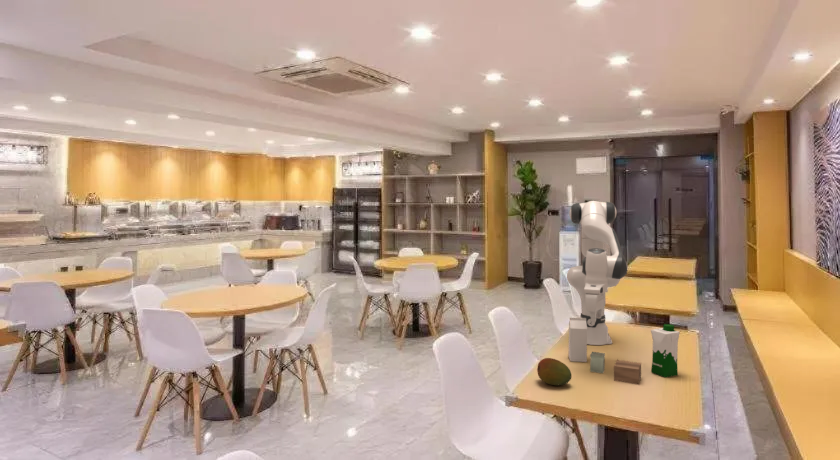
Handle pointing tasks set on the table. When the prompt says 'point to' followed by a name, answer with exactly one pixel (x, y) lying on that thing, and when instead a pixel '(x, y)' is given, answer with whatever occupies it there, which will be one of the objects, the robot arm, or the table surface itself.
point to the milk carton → (578, 339)
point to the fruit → (553, 372)
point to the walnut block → (627, 371)
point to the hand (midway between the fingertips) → (596, 320)
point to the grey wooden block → (597, 362)
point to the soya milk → (665, 351)
